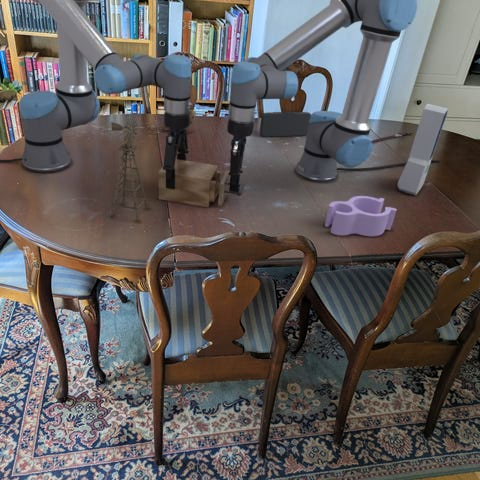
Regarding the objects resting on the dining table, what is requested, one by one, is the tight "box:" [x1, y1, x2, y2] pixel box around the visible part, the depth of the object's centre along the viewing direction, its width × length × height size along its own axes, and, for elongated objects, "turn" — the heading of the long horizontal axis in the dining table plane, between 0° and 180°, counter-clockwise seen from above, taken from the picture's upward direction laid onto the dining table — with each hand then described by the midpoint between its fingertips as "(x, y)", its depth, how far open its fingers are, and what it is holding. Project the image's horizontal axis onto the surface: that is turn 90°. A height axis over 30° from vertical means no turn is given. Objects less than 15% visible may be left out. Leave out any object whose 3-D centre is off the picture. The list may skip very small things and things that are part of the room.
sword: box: [371, 132, 414, 144], centre depth 214 cm, size 31×3×1 cm, turn 126°
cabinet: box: [158, 158, 219, 208], centre depth 147 cm, size 16×11×9 cm
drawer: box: [209, 170, 245, 207], centre depth 147 cm, size 20×10×8 cm, turn 80°
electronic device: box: [396, 103, 449, 196], centre depth 162 cm, size 12×8×30 cm, turn 148°
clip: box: [324, 195, 398, 237], centre depth 141 cm, size 20×12×7 cm, turn 109°
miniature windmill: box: [110, 111, 149, 222], centre depth 129 cm, size 9×8×30 cm
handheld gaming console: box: [258, 111, 312, 137], centre depth 202 cm, size 23×3×10 cm, turn 108°
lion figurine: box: [161, 109, 197, 134], centre depth 194 cm, size 15×5×9 cm, turn 110°
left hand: (175, 180), depth 148 cm, fingers closed on cabinet, 11 cm apart
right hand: (233, 192), depth 147 cm, fingers closed
